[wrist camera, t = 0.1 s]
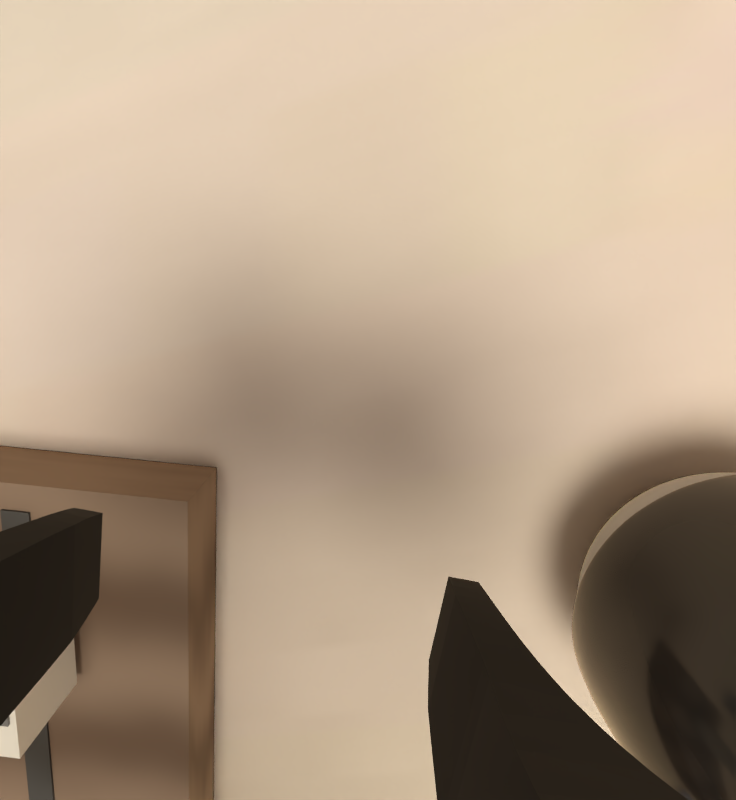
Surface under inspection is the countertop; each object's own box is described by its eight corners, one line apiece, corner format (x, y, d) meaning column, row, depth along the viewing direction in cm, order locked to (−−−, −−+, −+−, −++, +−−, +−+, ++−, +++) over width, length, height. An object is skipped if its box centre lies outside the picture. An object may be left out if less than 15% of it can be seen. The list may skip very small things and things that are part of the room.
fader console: (212, 888, 28) (188, 966, 25) (-26, 856, 28) (-77, 929, 25) (216, 467, 22) (186, 503, 19) (-84, 437, 23) (-160, 467, 20)
